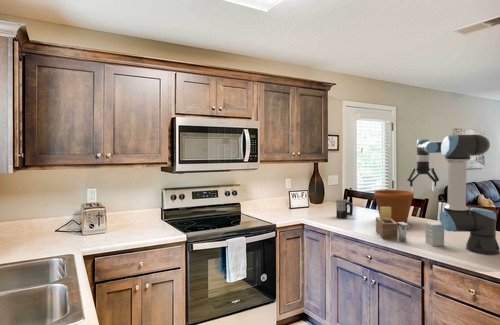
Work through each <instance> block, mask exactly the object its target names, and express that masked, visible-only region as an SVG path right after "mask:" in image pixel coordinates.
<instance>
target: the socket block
mask: <svg viewBox="0 0 500 325" xmlns="http://www.w3.org/2000/svg"><path fill="white" fill-rule="evenodd" d="M398 228H399V225H398V224H397V223H396V222H395V221H394V220H392V219H391V220H388V219H380V216H375V232H376V233H377V234H378V235H379V236H380V237H381V239H383V240H399V237H398V235H399V234H398V232H399V229H398Z"/></svg>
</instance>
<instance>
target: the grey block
mask: <svg viewBox="0 0 500 325" xmlns="http://www.w3.org/2000/svg"><path fill="white" fill-rule="evenodd" d="M398 228H399V229H398V232H399V234H398V235H399V237H398V240H399V242H402V243H407V228H409V224H408V223H405V222H398Z"/></svg>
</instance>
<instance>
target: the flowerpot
mask: <svg viewBox="0 0 500 325" xmlns="http://www.w3.org/2000/svg"><path fill="white" fill-rule="evenodd" d="M373 194H374V195H373V196H374V198H375V202H376V206H377V210H378V215H379V216H378V217H380V207H391V219H392V220H394V221H395V222H396V223H397V224H398V222H405V223H406V224H408V223H407V222H408V219H409V214H410V210H411V207H412V202H413V200H414V198H415V197H414V191H409V190H400V189H380V190H374V192H373Z"/></svg>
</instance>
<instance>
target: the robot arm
mask: <svg viewBox="0 0 500 325" xmlns="http://www.w3.org/2000/svg"><path fill="white" fill-rule="evenodd" d="M490 147H491V143H490V140H489V138H487V137H486V136H484V135H481V134H450V135H447V136H446V137H444V138H443V140H442V141H431V140H430V139H428V138H423V139H422V138H421V139H417V141H416V161H417V162H416V168H415V167H412V168H411V172H410V173H409V175H408V177H407V179H406V180H407V182H409V186H410V187H411V192H414V191H415V182H414V181H415V180H416V179H417V177H418V176H419V175H427V176H428V177H429V179H431V180H432V181H431V191H432V192H435V190H436V186H437V182H439V181H440V179H439V176H438V175H437V172H436V171H435V168H434V167H430V162H429V161H430V154H437V153H438V154H439V153H441V156H443V157H444V160H445V161H446V162H448V163H447V164H448V167H447V204H446V205H444V207H443V209H442V210H440V212H439V221H440V223H441V224H442V226H443V228H444V231H445V230H446V232H454V233H456V232H463V233H465V232H467V233H469V236H468V239H467V241H466V244H465V246H466V247H465V248H466V249H465V250H468V251H469V252H473V253H477V254H482V255H497V254H500V246H499V243H498V240H497V236H496V235H497V234H496V233H497V232H496V231H497V228H496V226H497V215H496V212H495V211H493V210H490V209H485V208H479V207H470V208H469V207H468V206H467V205H466V204H467V202H466V201H467V197H466V196H467V170H468V169H467V168H468V167H467V165H468V164H467V163H468V162H469V161H470V160H471V157H473V156H481V155H483V154H486V153H487V152H488V151H489V149H490ZM415 172H416V173H415ZM430 172H431V173H430ZM431 174H432V175H433V176H432V175H431ZM413 175H414V176H413Z"/></svg>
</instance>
